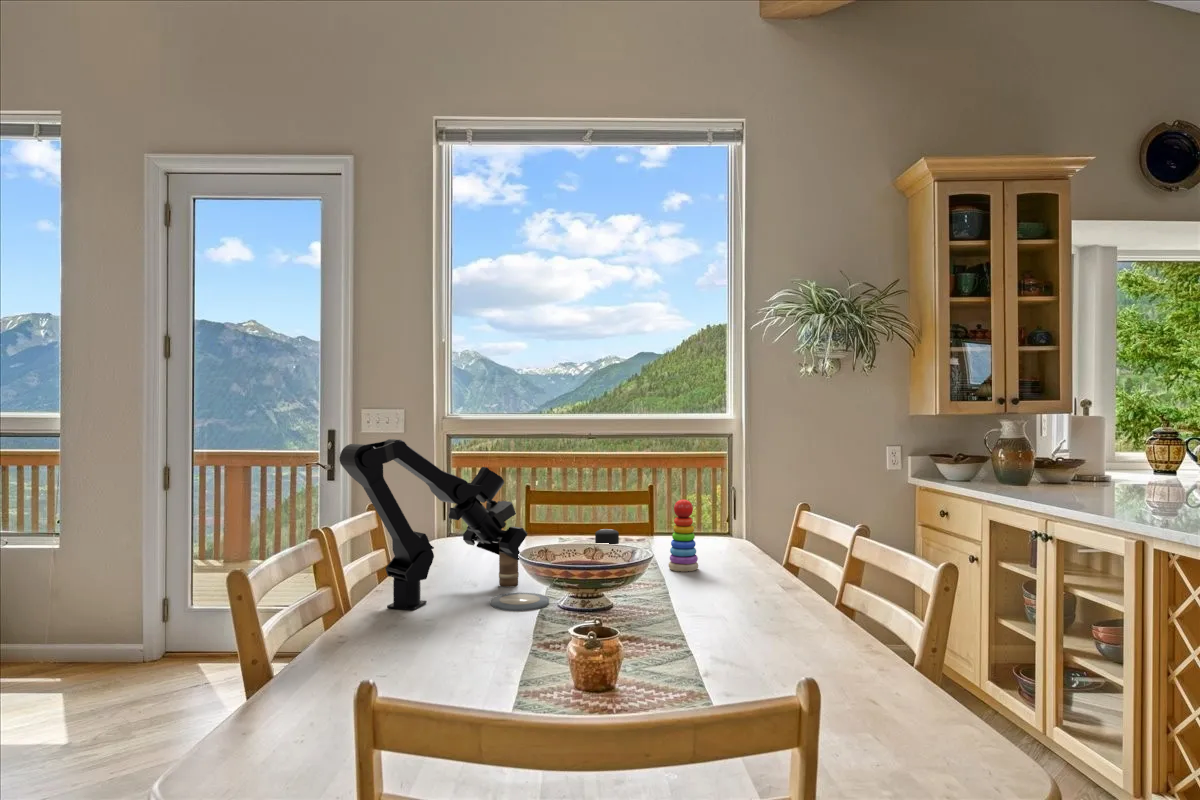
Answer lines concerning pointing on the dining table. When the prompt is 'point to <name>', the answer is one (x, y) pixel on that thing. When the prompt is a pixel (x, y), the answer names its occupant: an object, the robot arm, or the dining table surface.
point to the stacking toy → (683, 539)
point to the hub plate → (519, 601)
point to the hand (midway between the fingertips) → (513, 557)
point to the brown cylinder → (508, 571)
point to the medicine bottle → (607, 536)
